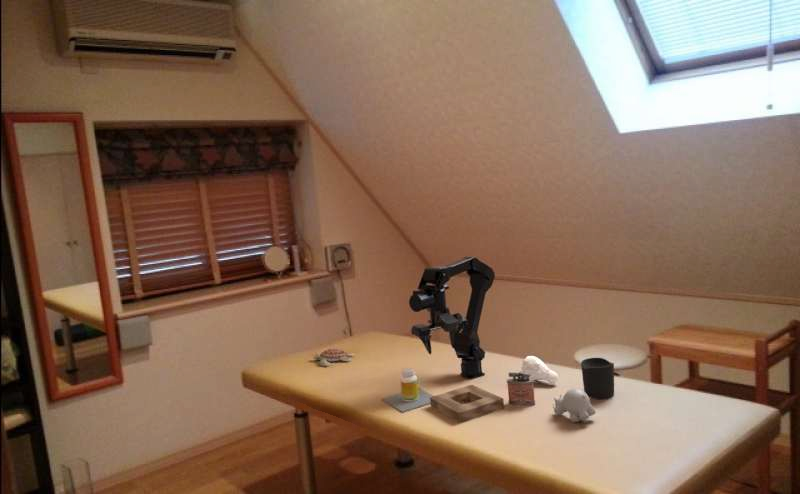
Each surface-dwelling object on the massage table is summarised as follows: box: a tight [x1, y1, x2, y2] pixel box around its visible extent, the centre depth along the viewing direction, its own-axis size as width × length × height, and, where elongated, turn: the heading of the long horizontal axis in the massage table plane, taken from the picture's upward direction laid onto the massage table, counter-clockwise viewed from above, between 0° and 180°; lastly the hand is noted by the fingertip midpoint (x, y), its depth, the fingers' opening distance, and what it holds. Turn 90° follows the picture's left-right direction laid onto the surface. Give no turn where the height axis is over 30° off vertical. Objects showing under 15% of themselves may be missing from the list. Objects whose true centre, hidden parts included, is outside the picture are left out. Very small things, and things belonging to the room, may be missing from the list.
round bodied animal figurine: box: [552, 388, 597, 423], centre depth 168 cm, size 7×12×8 cm, turn 41°
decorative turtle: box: [312, 348, 355, 367], centre depth 244 cm, size 18×17×5 cm
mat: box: [381, 387, 434, 414], centre depth 193 cm, size 14×14×1 cm
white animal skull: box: [521, 355, 559, 386], centre depth 196 cm, size 6×8×12 cm
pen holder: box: [580, 357, 615, 400], centre depth 182 cm, size 9×9×10 cm
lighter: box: [506, 370, 536, 407], centre depth 181 cm, size 8×3×10 cm, turn 71°
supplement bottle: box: [400, 367, 419, 402], centre depth 192 cm, size 5×5×10 cm
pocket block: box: [430, 384, 505, 424], centre depth 182 cm, size 16×16×3 cm
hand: (441, 350), depth 199 cm, fingers open, 9 cm apart
